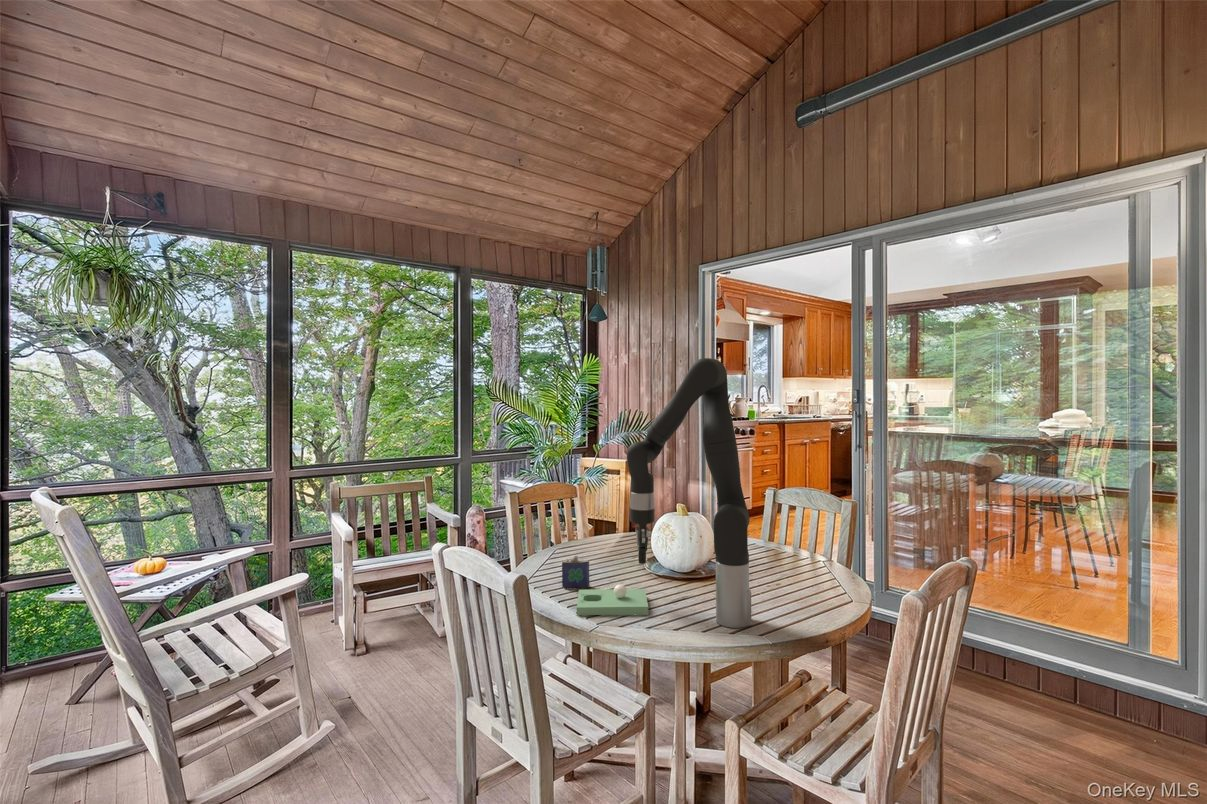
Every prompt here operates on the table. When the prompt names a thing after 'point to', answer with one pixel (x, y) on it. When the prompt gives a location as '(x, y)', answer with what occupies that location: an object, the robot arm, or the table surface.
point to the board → (612, 602)
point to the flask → (575, 573)
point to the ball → (620, 591)
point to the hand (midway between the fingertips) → (642, 562)
